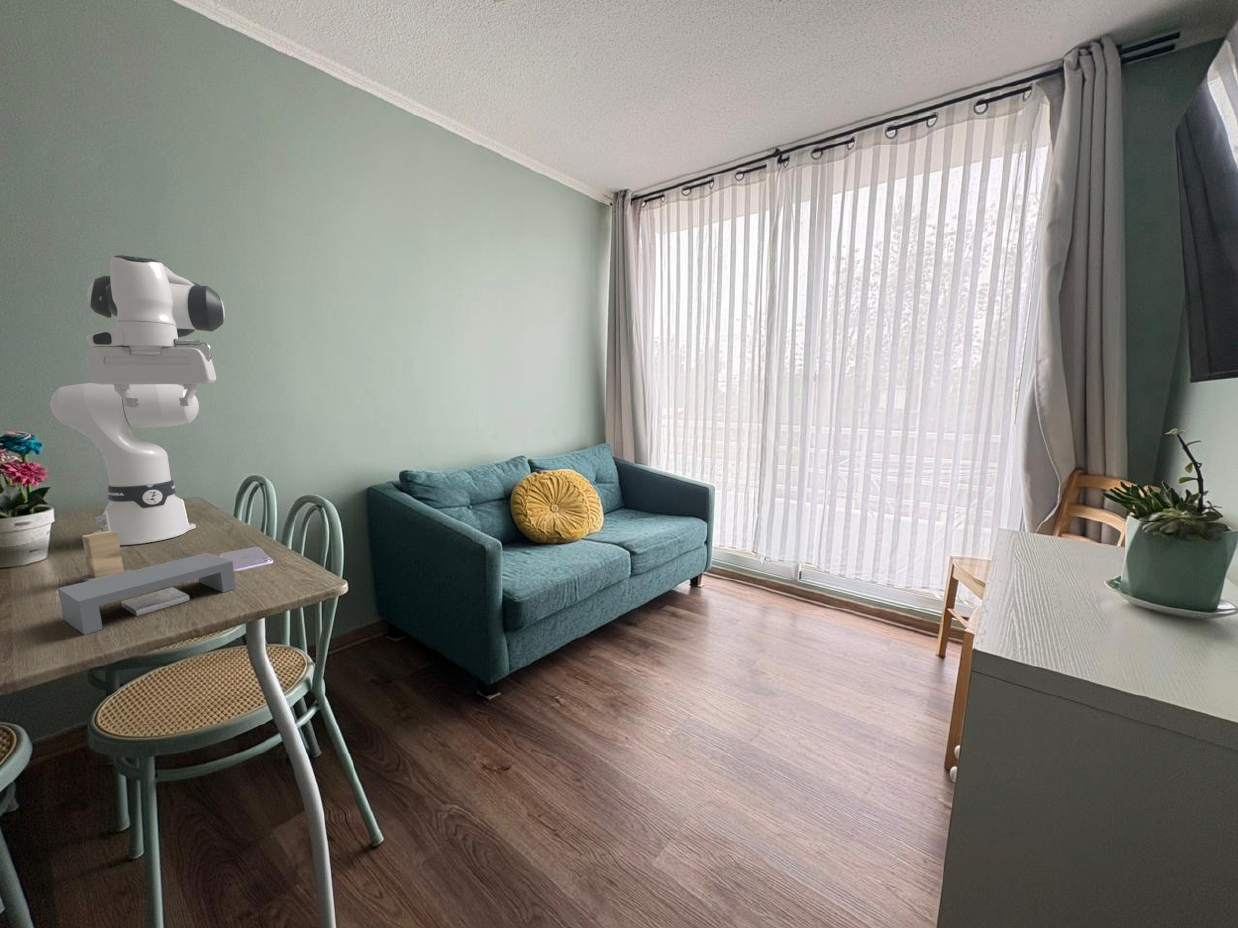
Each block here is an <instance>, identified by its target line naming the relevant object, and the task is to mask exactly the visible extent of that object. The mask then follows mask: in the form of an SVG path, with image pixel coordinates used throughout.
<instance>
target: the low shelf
mask: <svg viewBox="0 0 1238 928" xmlns="http://www.w3.org/2000/svg"><path fill="white" fill-rule="evenodd" d="M197 579H198V582H199V583H200V584H201V585H205V586H208V587H209V588H212V589H214V590H216V591H219V592H221V593H226V592H230V591H233V590H236V589H237V586H236V578H235V572H234V569H233V561H230V560H228V559H225V558H222V557H219V555H216V554H214V553H210V552H204V553H200V554H196V555H192V556H188V557H183V558H180V559H175V560H171V561H166V562H163V563H158V564H153V565H150V566H145V567H142V568H138V569H133V570H132V571H128V572H124V573H120V574H116V575H112V576H108V577H103V578H99V579H95V580H91V581H87V582H84V581H82V582H79V583H74V584H70V585H66V586H62V587H58V588H57V590H58V595H59V601H60V605H61V612H62V616H63V621H65V622H66V623H67V624H69V625H70V626H72V627H73V628H75V629H76V631H79V632H80V633H81V634H83V635H84V636H86V635H89V634H93V633H95V632H99V631H102V630H104V628H103V624H102V622H103V621H102V615H101V611H100V606H102V605H106V604H109V603H110V604H111V603H113V602H116V601H122V600H126V599H129V598H132V597H137V596H140V595H143V594H146V593H147V594H148V593H151V592H155V591H159V590H162V589H166V588H170V587H173V586H175V585H179V584H183V583H187V582H192V581H193V580H197Z"/></svg>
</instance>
